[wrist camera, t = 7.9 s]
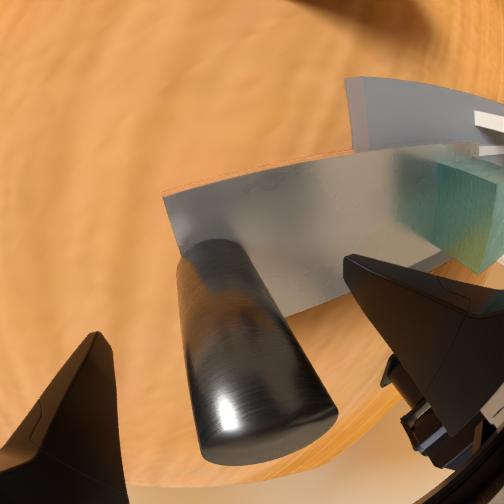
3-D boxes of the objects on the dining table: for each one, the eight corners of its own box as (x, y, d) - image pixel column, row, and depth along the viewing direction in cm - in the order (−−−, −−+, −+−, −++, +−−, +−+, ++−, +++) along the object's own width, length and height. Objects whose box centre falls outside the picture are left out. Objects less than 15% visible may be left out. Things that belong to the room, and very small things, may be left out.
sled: (462, 231, 16) (537, 281, 9) (201, 332, 13) (239, 484, 6) (470, 140, 12) (564, 175, 6) (150, 195, 9) (114, 368, 3)
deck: (503, 216, 22) (514, 223, 21) (354, 291, 18) (370, 308, 17) (509, 108, 15) (523, 111, 14) (344, 78, 11) (369, 75, 10)
